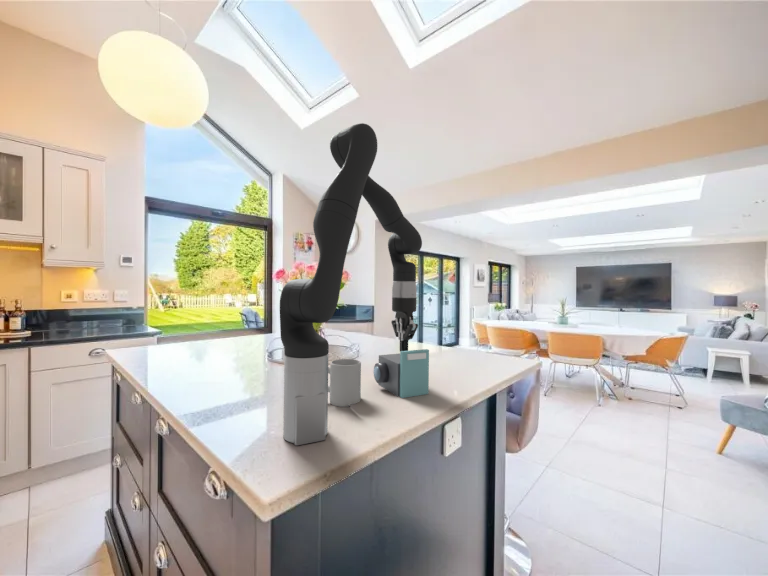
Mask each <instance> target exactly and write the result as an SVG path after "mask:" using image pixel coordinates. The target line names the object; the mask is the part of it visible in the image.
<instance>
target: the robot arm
mask: <svg viewBox="0 0 768 576" xmlns="http://www.w3.org/2000/svg"><path fill="white" fill-rule="evenodd" d="M329 149H330V153H331V156H332V158H333V160H334V161H335V163H336V165H337V167H339V169H340V170H339V172H337V174H336V176H335V177H334V178H333V179H332V181H331V182H330V183H329V185H328V186H327V188H325V190H324V192H322V195H321V197H320V199H319V202H318V204H317V208H316V212H315V214H314V218H313V222H312V223H313V224H312V228H313V233H314V237H315V240H316V243H317V246H318V250H319V259H318V263H317V267H316V271H315V272H314V273H315V274H314V276H313V278H302V279H301V278H298V279H292V280H289V281H288V282H286V284H284V286H283V288H282V290H281V294H280V297H279V325H280V326H279V327H280V328H279V329H280V341H281V343H282V346H283V349H284V354H283V355H284V357H283V359H284V360H283V361H284V362H283V425H282V427H283V429H282V430H283V431H282V433H283V434H282V435H283V437H282V438H283V439H284V440H285V441H287V442H288V443H292V444H294V446H301V445H307V444H311V443H317V442H321V441H326V437H327V435H328V428H329V427H328V425H329V424H328V423H329V422H328V421H329V419H328V417H329V413H328V410H329V404H328V403H329V399H328V398H329V392H328V386H329V373H328V367H329V354H330V353H329V351H330V348H329V341H328V340H327V339H326V338H325V337H323V336H322V335H320V334H319V333H318V332H317V330H315V328H314V324H323V323H327V322H328V321H330V320H331V319H332V317H333V316H334V314H335V311H336V310H337V306H338V302H339V298H340V292H341V287H342V278H343V272H344V266H345V262H346V257H347V253H348V249H349V246H350V240H351V237H352V234H353V231H354V228H355V224H356V219H357V216H358V212H359V207H360V204H361V200H362V197H363V198H364V199H365V201H366V202H367V204H368V205H369V207H370V208H371V209H372V212H373V213H374V215H375V216H376V218H377V220H378V222H379V224H380V225H381V227H382V228H383V230H384V231H385V232H388V233H390V234H391V233H392V234H391V235H390V237H388V242H387V249H388V253H389V256H390V261H391V265H392V270H393V271H392V287H391V289H392V290H391V310H392V312H393V313H394V312H395V317H394V318H395V319H393V320H391V327H392V329H393V332H394V335H395V338H397V339H398V341H399V352H400V351H409V341H410V340H412V339H413V338H414V336H415V333H416V332H417V330H418V328H419V325H418V323H415V322H414V314H413V313H415V312H416V311H417V296H418V295H417V267H416V264H415V263H413V262H410V261H407V260H406V256H405V255H414V254H417V253H418V252H419V251H420V250H421V249H422V246H423V240H422V239H423V238H422V236H421V234H420V232H419V231H418V230H417V228H416V227H415V226H414V225H413V224H412V223H411V222H410V221H409V220H408V219H407V218H406V217H405V216H404V214H403V211H402V209H401V208H400V206H399V203H397V201H396V199H395V197H394V196H393V195H392V194H391V193H390V192H389V191H388V190H386V189H385V188H384V187H383V186H381V185H380V184H379V183H377V182H376V181H375V180H374V179H373V178H372V177H370V172H371V171H372V167H373V165H374V163H375V160H376V157H377V153H378V137H377V135H376V132H375V130H374V129H373V127H372V126H370V125H369V124H367V123H363V122H362V123H357V124H353V125H351V126H349V127H346V128H345V129H343V130H341V131H339V132H337V133H335V134H333V135H332V136H331V139H330V143H329Z"/></svg>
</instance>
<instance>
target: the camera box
mask: <svg viewBox="0 0 768 576" xmlns="http://www.w3.org/2000/svg"><path fill="white" fill-rule="evenodd" d="M373 377H374V380H375V382H376V383H377V384H378V386H380V387H381V388H383V389H385V390H386V391H388V392H390V393H391V394H393V395H394V396H395V397H400V353H391V354H390V353H389V354H379V355H378V362H376V363H375V364H374V366H373Z"/></svg>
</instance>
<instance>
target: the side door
mask: <svg viewBox="0 0 768 576" xmlns="http://www.w3.org/2000/svg"><path fill="white" fill-rule="evenodd" d="M399 354H400V396H399V397H400V398H401V399H403V398H404V399H405V398H410V397H418V396H423V395H424V396H426V395H429V391H430V390H429V388H430V387H429V384H430V383H429V381H430V378H429V375H430V372H429V371H430V370H429V368H430V363H429V362H430V350H429V349H427V348H426V349H425V348H424V349H412V350H408V351H400V350H399Z"/></svg>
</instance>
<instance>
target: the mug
mask: <svg viewBox="0 0 768 576" xmlns="http://www.w3.org/2000/svg"><path fill="white" fill-rule="evenodd" d="M329 364H330V366H328V375H329V379H330V380H329V385H328V393H329V403H330V404H331V405H332V406H335V407H340V408H348V407H349V408H350V406H351V405H355V404H357V403H359V402H360V401H361V400H362V399H361V398H362V397H361V395H362V394H361V393H362V392H361V389H362V388H361V387H362V385H361V383H362V382H361V381H362V377H361V376H362V374H361V373H362V362H361V361H360V360H358V359H353V358H340V359H335V360H332V361H331V362H330V363H329Z"/></svg>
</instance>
